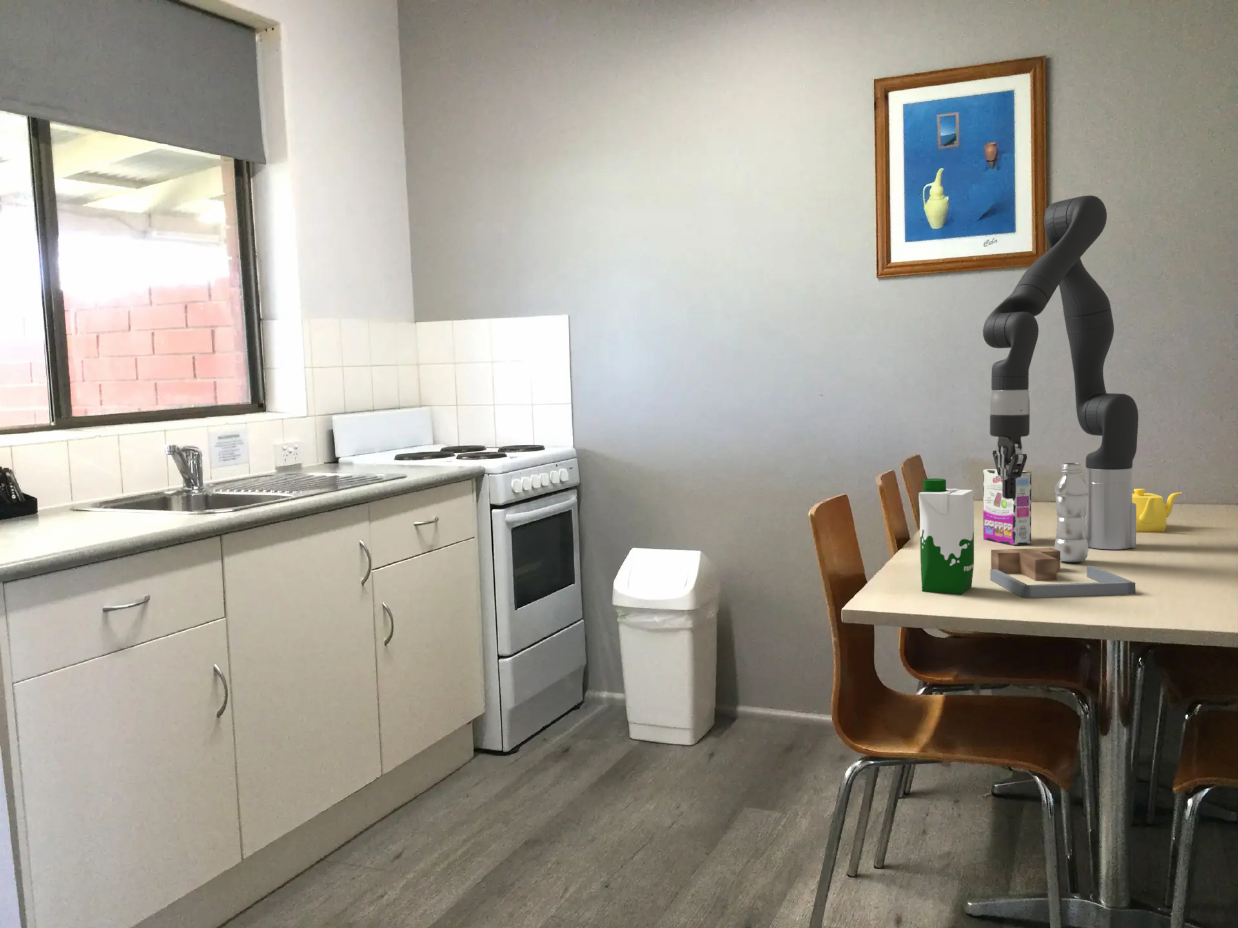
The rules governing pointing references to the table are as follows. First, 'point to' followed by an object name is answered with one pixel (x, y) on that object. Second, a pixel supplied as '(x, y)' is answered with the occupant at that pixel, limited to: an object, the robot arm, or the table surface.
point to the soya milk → (946, 537)
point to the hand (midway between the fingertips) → (1008, 498)
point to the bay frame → (1068, 585)
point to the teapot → (1151, 510)
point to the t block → (1028, 562)
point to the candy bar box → (1006, 510)
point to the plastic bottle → (1071, 514)
